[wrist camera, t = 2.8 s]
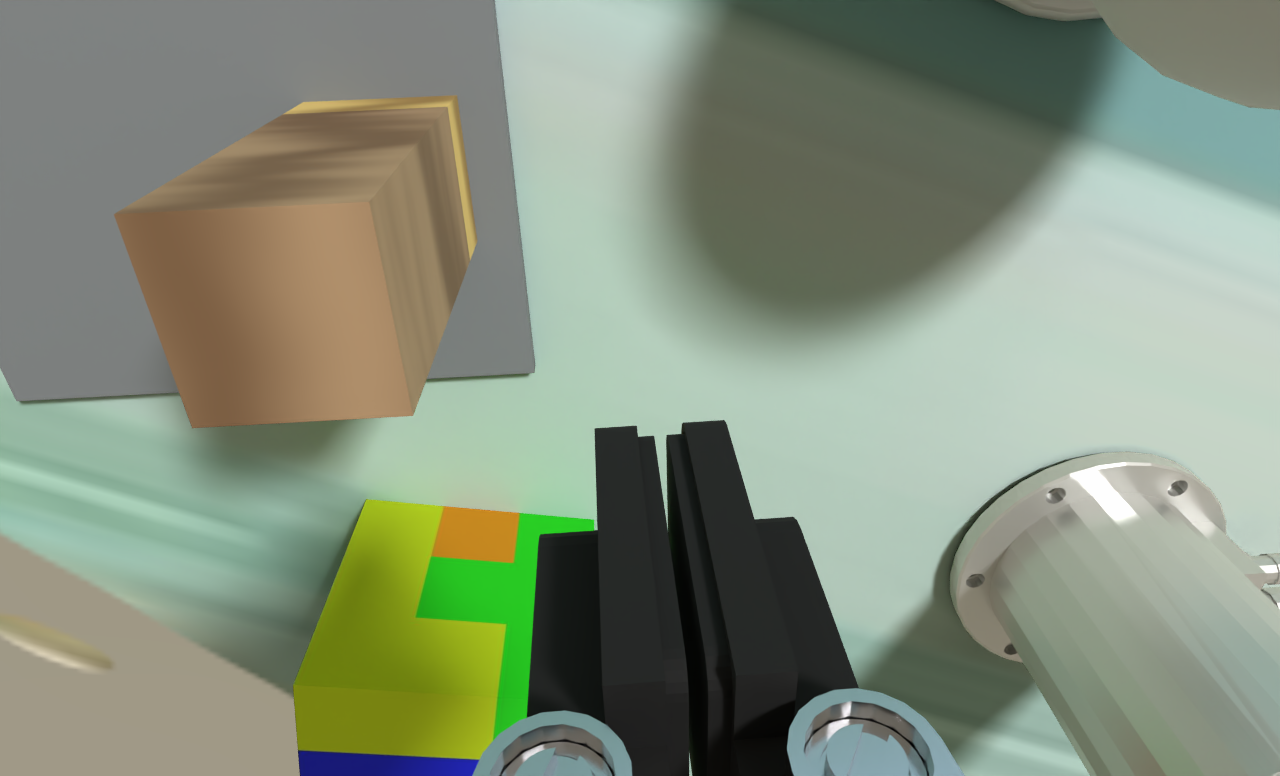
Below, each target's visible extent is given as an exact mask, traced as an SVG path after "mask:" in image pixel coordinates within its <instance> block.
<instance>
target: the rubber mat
mask: <svg viewBox="0 0 1280 776" xmlns="http://www.w3.org/2000/svg"><path fill="white" fill-rule="evenodd" d="M452 95H457V99H458V106H459V113H460V120H461V127H462V134H463V142H464V149H465V156H466V163H467V170H468V177H469V184H470V192H471V199H472V206H473V213H474V220H475V227H476V234H477V244H476V246H475V249H474V252H473V254H472V257H471V260H470V263H469V265H468V268H467V271H466V273H465V276H464V279H463V282H462V284H461V287H460V290H459V292H458V295H457V298H456V301H455V303H454V306H453V309H452V311H451V314H450V317H449V320H448V322H447V325H446V328H445V330H444V333H443V336H442V338H441V341H440V344H439V347H438V349H437V352H436V355H435V357H434V360H433V363H432V366H431V368H430V371H429V374H428V376H427V379H432V378H450V377H469V376H487V375H505V374H523V373H534V372H535V359H534V350H533V341H532V332H531V323H530V314H529V305H528V296H527V287H526V278H525V269H524V260H523V251H522V242H521V234H520V225H519V216H518V207H517V198H516V189H515V180H514V171H513V162H512V153H511V144H510V135H509V126H508V117H507V108H506V99H505V90H504V81H503V72H502V63H501V54H500V45H499V36H498V27H497V18H496V9H495V0H0V368H1V370H2V372H3V374H4V377H5V379H6V381H7V383H8V385H9V387H10V389H11V391H12V393H13V395H14V397H15V399H16V401H30V400H48V399H66V398H84V397H103V396H121V395H139V394H158V393H176V392H179V391H178V388H177V385H176V382H175V380H174V377H173V374H172V372H171V369H170V366H169V363H168V361H167V358H166V355H165V353H164V350H163V347H162V344H161V342H160V339H159V336H158V334H157V331H156V328H155V325H154V323H153V320H152V317H151V314H150V312H149V309H148V306H147V304H146V301H145V298H144V295H143V293H142V290H141V287H140V285H139V282H138V279H137V276H136V274H135V271H134V268H133V266H132V263H131V260H130V257H129V255H128V252H127V249H126V247H125V244H124V241H123V238H122V236H121V233H120V230H119V228H118V225H117V222H116V219H115V217H114V214H115V213H116V212H118V211H120V210H121V209H123V208H125V207H127V206H128V205H130V204H132V203H133V202H135V201H137V200H138V199H140V198H142V197H143V196H145V195H147V194H149V193H150V192H152V191H154V190H155V189H157V188H159V187H160V186H162V185H164V184H165V183H167V182H169V181H171V180H172V179H174V178H176V177H177V176H179V175H181V174H182V173H184V172H186V171H188V170H189V169H191V168H193V167H194V166H196V165H198V164H199V163H201V162H203V161H204V160H206V159H208V158H210V157H211V156H213V155H215V154H216V153H218V152H220V151H221V150H223V149H225V148H226V147H228V146H230V145H232V144H233V143H235V142H237V141H238V140H240V139H242V138H243V137H245V136H247V135H249V134H250V133H252V132H254V131H255V130H257V129H259V128H260V127H262V126H264V125H265V124H267V123H269V122H271V121H272V120H274V119H276V118H277V117H279V116H281V115H282V114H284V113H286V112H287V111H289V110H291V109H293V108H294V107H296V106H298V105H299V104H301V103H303V102H317V101H339V100H362V99H384V98H407V97H429V96H452Z"/></svg>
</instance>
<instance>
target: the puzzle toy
mask: <svg viewBox="0 0 1280 776" xmlns="http://www.w3.org/2000/svg"><path fill="white" fill-rule="evenodd" d="M580 531H594V520H590V519H579V518H568V517H557V516H546V515H535V514H524V513H512V512H501V511H490V510H479V509H468V508H457V507H446V506H435V505H424V504H413V503H401V502H390V501H379V500H368V499H366V501H365V504H364V506H363V509H362V511H361V514H360V517H359V519H358V522H357V524H356V527H355V529H354V532H353V534H352V537H351V539H350V542H349V544H348V547H347V549H346V552H345V555H344V557H343V560H342V562H341V565H340V567H339V570H338V572H337V575H336V577H335V580H334V582H333V585H332V587H331V590H330V592H329V595H328V598H327V600H326V603H325V605H324V608H323V610H322V613H321V615H320V618H319V620H318V623H317V625H316V628H315V630H314V633H313V636H312V638H311V641H310V643H309V646H308V648H307V651H306V653H305V656H304V658H303V661H302V663H301V666H300V668H299V671H298V674H297V676H296V679H295V681H294V684H293V692H294V705H295V718H296V731H297V743H298V757H299V769H300V776H472V775H473V773H474V771H475V769H476V766H477V764H478V762H479V760H480V758H481V755H482V753H483V752H484V751H485V750H486V749H487V747H488V746H489V745H490V744H491V743H492V742H493V740H494V739H495V738H496V737H497V736H498V735H499V734H500V733H502V732H503V731H504V730H506V729H507V728H509V727H510V726H512V725H513V724H515V723H516V722H518V721H519V720H522V719H525V718H527V704H528V689H529V674H530V659H531V644H532V629H533V614H534V599H535V584H536V569H537V554H538V542H539V536H540V534H551V533H565V532H580Z"/></svg>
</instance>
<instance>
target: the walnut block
mask: <svg viewBox="0 0 1280 776" xmlns="http://www.w3.org/2000/svg"><path fill="white" fill-rule="evenodd" d="M114 217H115V219H116V222H117V225H118V228H119V230H120V233H121V236H122V238H123V241H124V244H125V247H126V249H127V252H128V255H129V257H130V260H131V263H132V266H133V268H134V271H135V274H136V276H137V279H138V282H139V285H140V287H141V290H142V293H143V295H144V298H145V301H146V304H147V306H148V309H149V312H150V314H151V317H152V320H153V323H154V325H155V328H156V331H157V334H158V336H159V339H160V342H161V344H162V347H163V350H164V353H165V355H166V358H167V361H168V363H169V366H170V369H171V372H172V374H173V377H174V380H175V382H176V385H177V388H178V391H179V393H180V396H181V399H182V401H183V404H184V407H185V410H186V412H187V415H188V418H189V420H190V423H191V426H192V428H203V427H221V426H238V425H256V424H274V423H292V422H310V421H328V420H346V419H364V418H381V417H399V416H413V414H414V412H415V409H416V406H417V404H418V401H419V398H420V395H421V393H422V390H423V387H424V385H425V382H426V379H427V376H428V374H429V371H430V368H431V366H432V363H433V360H434V357H435V355H436V352H437V349H438V347H439V344H440V341H441V338H442V336H443V333H444V330H445V328H446V325H447V322H448V320H449V317H450V314H451V311H452V309H453V306H454V303H455V301H456V298H457V295H458V292H459V290H460V287H461V284H462V282H463V279H464V276H465V273H466V271H467V268H468V265H469V263H470V260H471V257H472V254H473V252H474V249H475V246H476V244H477V234H476V227H475V220H474V213H473V206H472V199H471V192H470V184H469V177H468V170H467V163H466V156H465V149H464V142H463V134H462V127H461V120H460V113H459V106H458V99H457V95H452V96H429V97H407V98H384V99H362V100H339V101H317V102H303V103H301V104H299V105H298V106H296V107H294V108H293V109H291V110H289V111H287V112H286V113H284V114H282V115H281V116H279V117H277V118H276V119H274V120H272V121H271V122H269V123H267V124H265V125H264V126H262V127H260V128H259V129H257V130H255V131H254V132H252V133H250V134H249V135H247V136H245V137H243V138H242V139H240V140H238V141H237V142H235V143H233V144H232V145H230V146H228V147H226V148H225V149H223V150H221V151H220V152H218V153H216V154H215V155H213V156H211V157H210V158H208V159H206V160H204V161H203V162H201V163H199V164H198V165H196V166H194V167H193V168H191V169H189V170H188V171H186V172H184V173H182V174H181V175H179V176H177V177H176V178H174V179H172V180H171V181H169V182H167V183H165V184H164V185H162V186H160V187H159V188H157V189H155V190H154V191H152V192H150V193H149V194H147V195H145V196H143V197H142V198H140V199H138V200H137V201H135V202H133V203H132V204H130V205H128V206H127V207H125V208H123V209H121V210H120V211H118V212H116V213H115V214H114Z"/></svg>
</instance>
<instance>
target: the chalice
mask: <svg viewBox="0 0 1280 776" xmlns="http://www.w3.org/2000/svg"><path fill="white" fill-rule="evenodd" d="M995 1H997V2H999V3H1001V4H1003V5H1006V6H1008V7H1010V8H1012V9H1014V10H1016V11H1018V12H1020V13H1022V14H1025V15H1028V16H1034V17H1040V18H1046V19H1052V20H1058V21H1075V20H1085V19H1096V18H1103V19H1104V21H1105V22H1106V24H1107V25H1108V27H1109V28H1110V30H1111V31H1112V33H1113V34H1114V36H1115V37H1116V38H1118V39H1119V40H1120V41H1121V42H1122V43H1124V44H1125V45H1126V46H1127V47H1129V48H1130V49H1131V50H1132V51H1133V52H1135V53H1136V54H1137V55H1138V56H1140V57H1141V58H1142V59H1143V60H1145V61H1146V62H1147V63H1148V64H1149V65H1151V66H1152V67H1153V68H1154V69H1156V70H1157V71H1158V72H1159V73H1160V74H1162V75H1164V76H1166V77H1169V78H1171V79H1174V80H1176V81H1179V82H1181V83H1184V84H1186V85H1189V86H1191V87H1194V88H1197V89H1199V90H1202V91H1204V92H1207V93H1209V94H1212V95H1214V96H1217V97H1220V98H1223V99H1226V100H1229V101H1232V102H1235V103H1238V104H1241V105H1244V106H1247V107H1251V108H1263V109H1275V110H1280V0H995Z"/></svg>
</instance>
